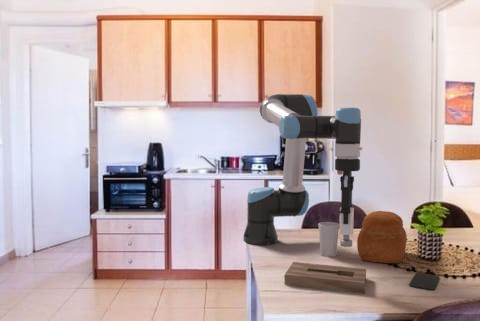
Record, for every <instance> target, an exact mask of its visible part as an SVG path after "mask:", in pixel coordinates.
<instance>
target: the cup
mask: <svg viewBox="0 0 480 321" xmlns="http://www.w3.org/2000/svg"><path fill="white" fill-rule="evenodd" d="M317 226H318V236H319V250H320V252H319V254H320V255H321V256H322V257H323V256H324V257H335V256H337V254H338V253H337V250H338V239H339V223H338V222H334V221H332V222H331V221H322V222H319V223H318V224H317Z"/></svg>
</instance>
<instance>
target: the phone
mask: <svg viewBox="0 0 480 321" xmlns="http://www.w3.org/2000/svg"><path fill="white" fill-rule="evenodd" d="M440 279H441V278H440V276H439V275H437V274H431V273H430V274H429V273H424V272H416V273H414V276H413V278H412V279H411V281H410V282H409V284H408V286H409V287H410V288H414V289H420V290H425V291H433V292H434V291H435V290H436V288H437V286H438V282H439V281H440Z"/></svg>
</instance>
